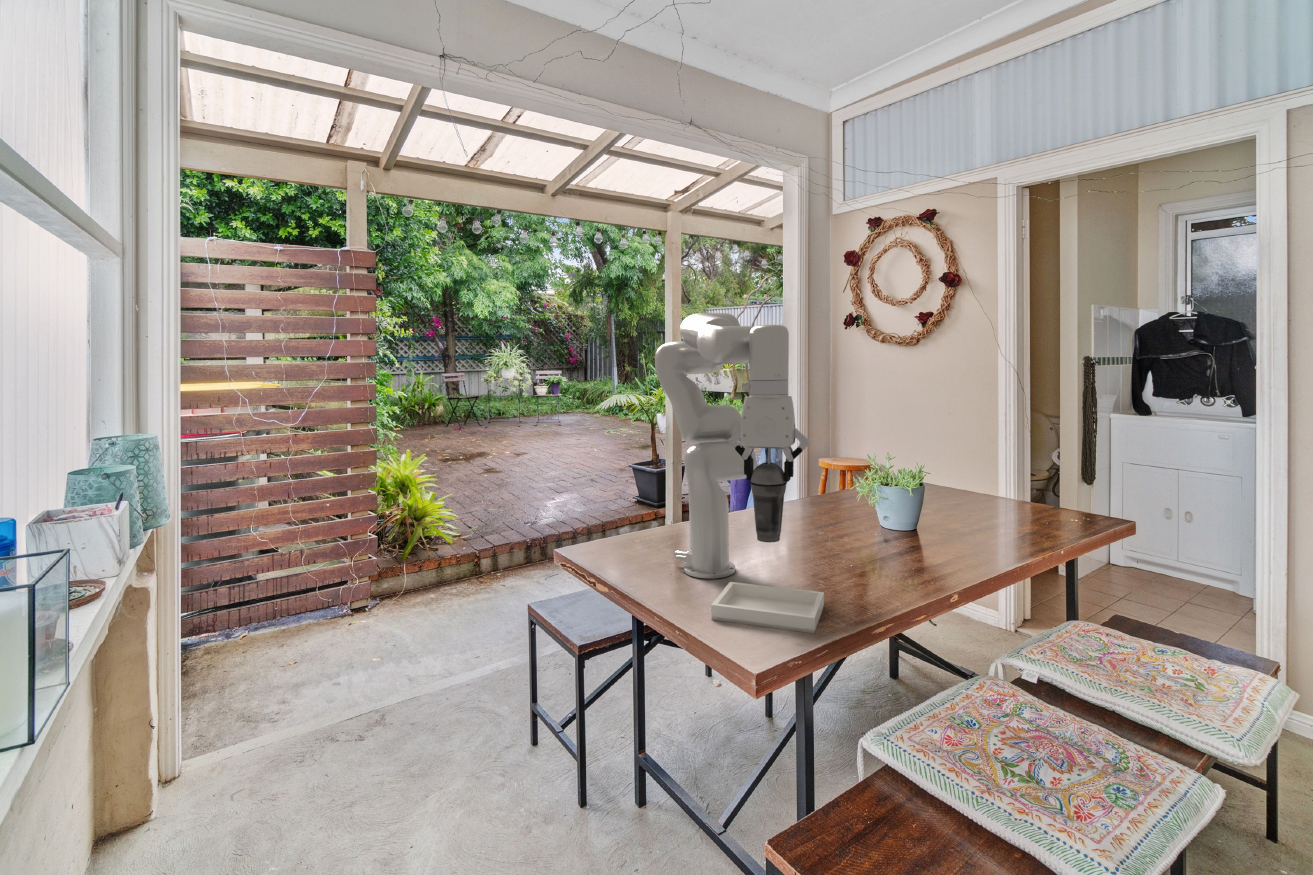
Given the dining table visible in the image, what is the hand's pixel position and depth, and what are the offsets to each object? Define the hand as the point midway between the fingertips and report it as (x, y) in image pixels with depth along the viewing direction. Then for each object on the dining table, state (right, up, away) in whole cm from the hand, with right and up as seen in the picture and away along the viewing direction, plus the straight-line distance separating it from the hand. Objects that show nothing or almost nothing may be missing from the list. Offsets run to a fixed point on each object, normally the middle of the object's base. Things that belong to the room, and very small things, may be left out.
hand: (768, 478), depth 124 cm
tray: (+1, -27, +3) cm, 28 cm away
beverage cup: (0, -12, +2) cm, 13 cm away
